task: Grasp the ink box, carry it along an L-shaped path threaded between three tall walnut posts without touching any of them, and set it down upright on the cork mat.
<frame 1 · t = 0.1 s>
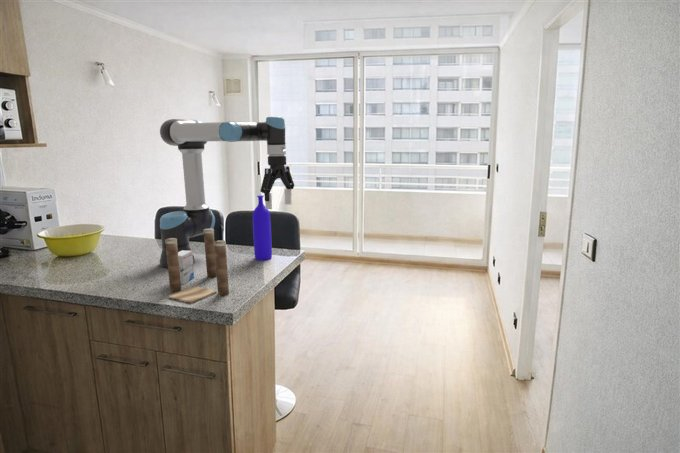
hand: (278, 206, 186), 28 cm above the counter, fingers open, 13 cm apart
gate post 2: (212, 276, 185), on the counter
ink box: (184, 281, 180), on the counter
gate post 1: (175, 290, 169), on the counter
bottle: (263, 258, 211), on the counter
corner post: (223, 293, 164), on the counter
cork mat: (192, 295, 163), on the counter
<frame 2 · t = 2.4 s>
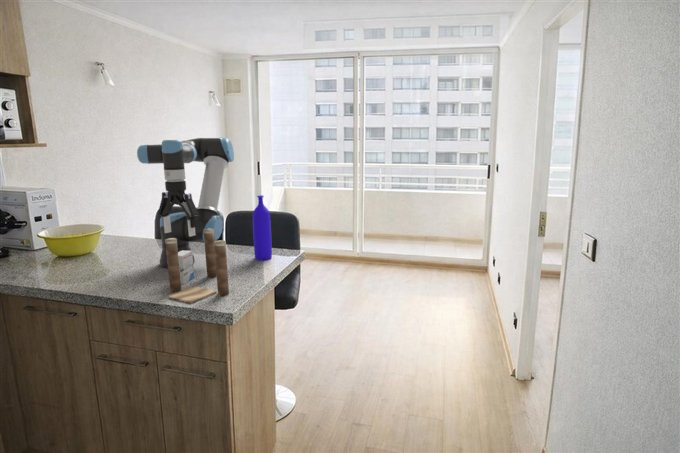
hand: (179, 234, 175), 19 cm above the counter, fingers open, 13 cm apart
nothing on the counter moved.
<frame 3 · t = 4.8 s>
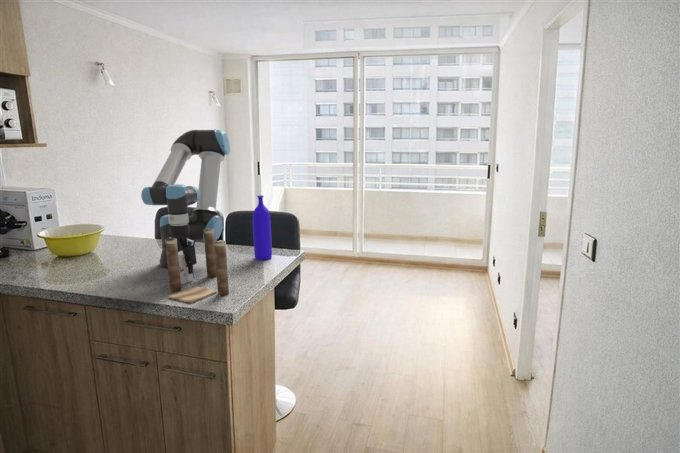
hand: (183, 279, 179), 0 cm above the counter, fingers closed on ink box, 6 cm apart
ink box: (184, 281, 180), on the counter, touching gripper
everything else where it was.
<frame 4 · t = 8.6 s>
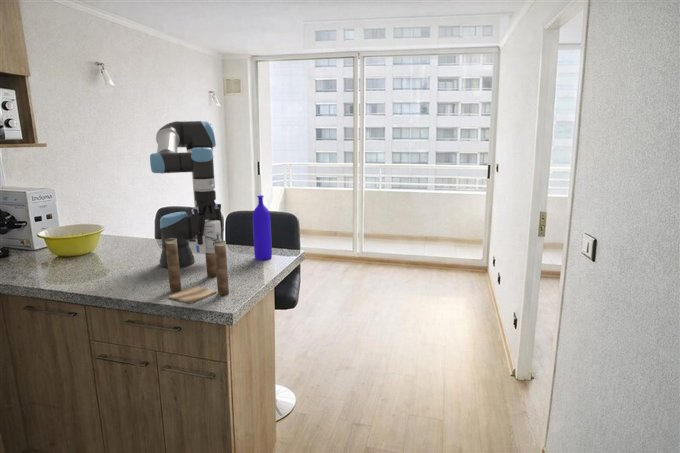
hand: (209, 250, 168), 15 cm above the counter, fingers closed on ink box, 6 cm apart
ink box: (209, 252, 169), point 14 cm above the counter, touching gripper
everything else where it was.
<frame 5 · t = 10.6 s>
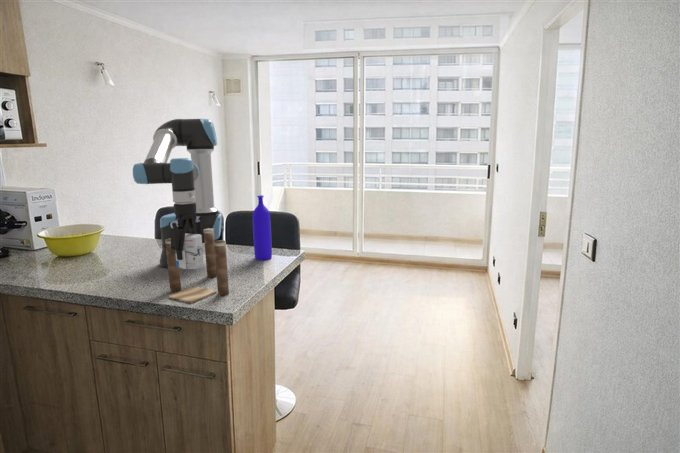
hand: (190, 265, 161), 12 cm above the counter, fingers closed on ink box, 6 cm apart
ink box: (190, 267, 161), point 11 cm above the counter, touching gripper
everything else where it was.
when the fingers open (2 cm above the counter, at t = 12.4 s): ink box drops 1 cm, resting on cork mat.
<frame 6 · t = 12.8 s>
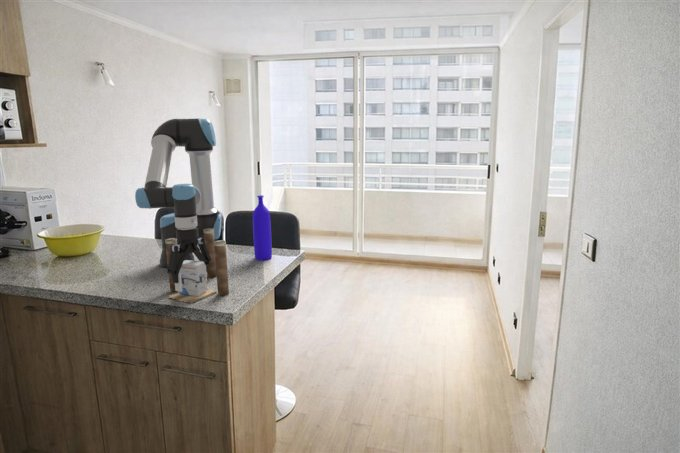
hand: (191, 286, 162), 4 cm above the counter, fingers open, 11 cm apart
ink box: (193, 293, 163), point 1 cm above the counter, touching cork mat
everything else where it was.
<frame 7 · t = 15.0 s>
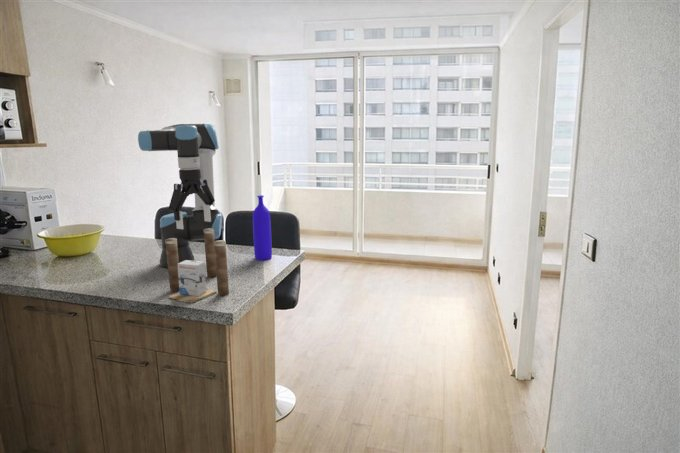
hand: (194, 225, 167), 25 cm above the counter, fingers open, 13 cm apart
nothing on the counter moved.
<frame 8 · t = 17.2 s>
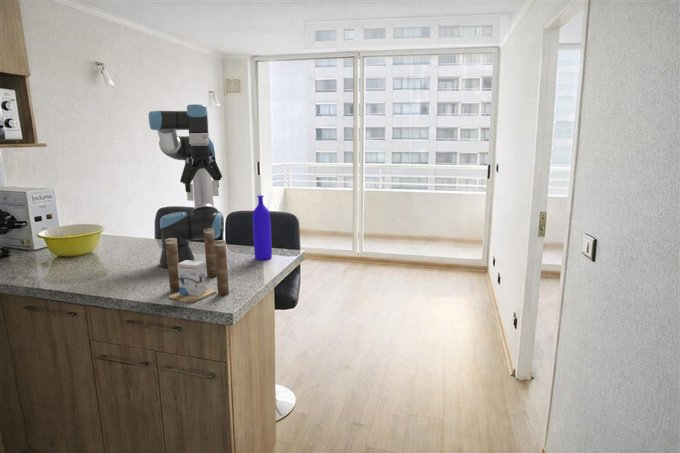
hand: (203, 198, 179), 33 cm above the counter, fingers open, 13 cm apart
nothing on the counter moved.
at the end: ink box inside the target area on the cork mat (0.4 cm from its centre), point 0.6 cm above the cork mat's base; ink box tilted 0°; corner post tilted 0° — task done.
